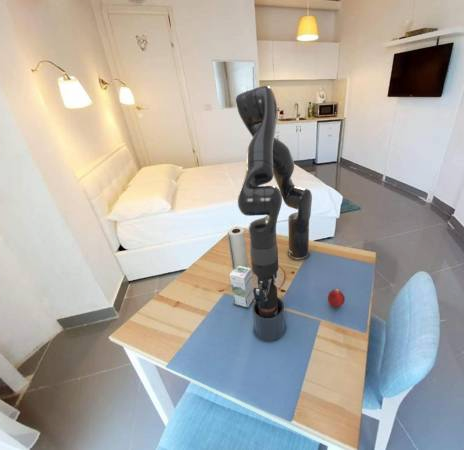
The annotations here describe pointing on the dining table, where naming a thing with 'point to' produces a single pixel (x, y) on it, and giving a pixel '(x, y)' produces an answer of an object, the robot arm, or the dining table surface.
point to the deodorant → (270, 303)
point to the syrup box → (242, 286)
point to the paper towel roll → (237, 247)
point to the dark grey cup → (269, 323)
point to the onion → (336, 298)
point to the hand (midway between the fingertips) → (267, 300)
